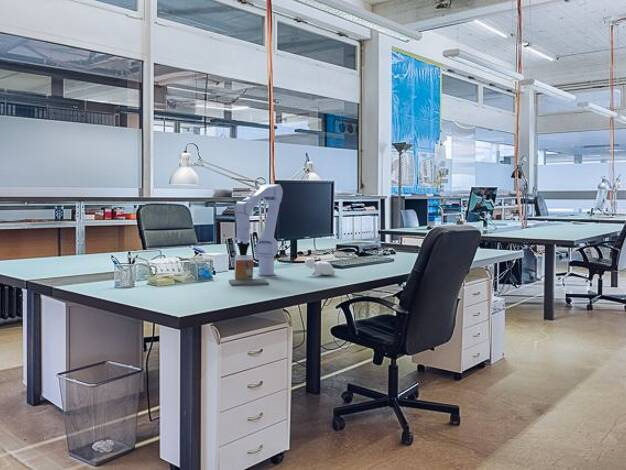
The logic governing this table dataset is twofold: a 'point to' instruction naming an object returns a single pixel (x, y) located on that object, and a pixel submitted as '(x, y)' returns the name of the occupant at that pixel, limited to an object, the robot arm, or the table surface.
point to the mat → (248, 282)
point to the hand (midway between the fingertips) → (243, 258)
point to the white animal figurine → (319, 267)
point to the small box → (243, 267)
